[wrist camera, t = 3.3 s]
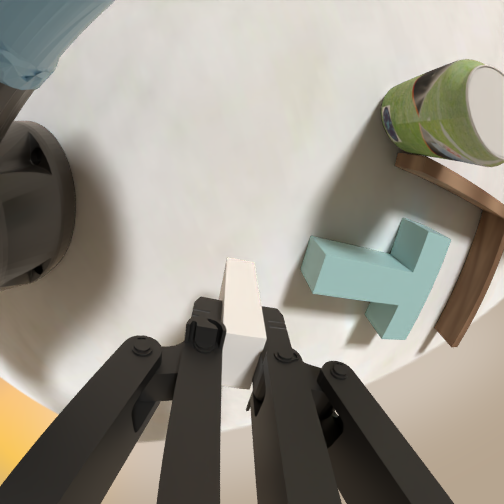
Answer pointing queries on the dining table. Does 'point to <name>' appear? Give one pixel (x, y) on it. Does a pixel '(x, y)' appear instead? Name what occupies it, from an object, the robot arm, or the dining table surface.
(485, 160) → the beverage can
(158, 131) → the dining table surface
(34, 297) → the dining table surface
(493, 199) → the corner fence
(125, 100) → the dining table surface
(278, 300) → the dining table surface
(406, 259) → the t block
